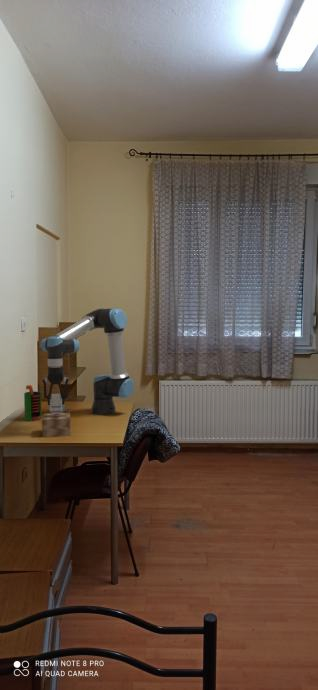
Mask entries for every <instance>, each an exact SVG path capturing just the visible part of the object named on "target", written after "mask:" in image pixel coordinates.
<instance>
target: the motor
mask: <svg viewBox="0 0 318 690" xmlns="http://www.w3.org/2000/svg"><path fill="white" fill-rule="evenodd" d="M25 390H28V391H26V392H24V393H23V394H24V395H23V397H24V398H23V399H24V421H25V422H35V421H36V420H37V421H40V420H41V419H42V391H34V389H33V386H32V385H31V384H29V385H25ZM37 421H36V422H37Z"/></svg>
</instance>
